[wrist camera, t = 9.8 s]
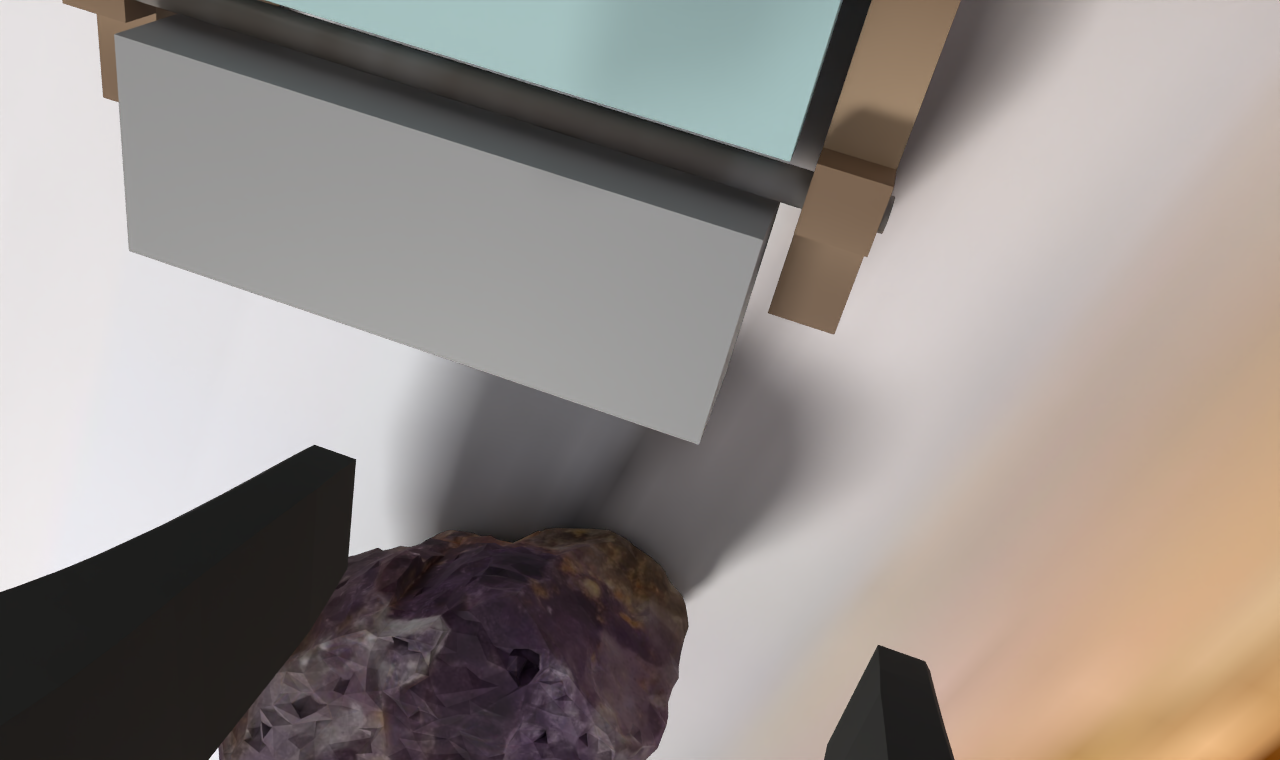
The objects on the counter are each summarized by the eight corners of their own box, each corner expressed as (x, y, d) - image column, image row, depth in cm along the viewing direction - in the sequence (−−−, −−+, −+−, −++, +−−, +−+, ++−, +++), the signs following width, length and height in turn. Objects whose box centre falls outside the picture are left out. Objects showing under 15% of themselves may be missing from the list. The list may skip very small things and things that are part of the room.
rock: (750, 593, 28) (461, 363, 27) (732, 851, 21) (324, 551, 19) (502, 804, 33) (242, 620, 31) (412, 1077, 25) (62, 854, 24)
